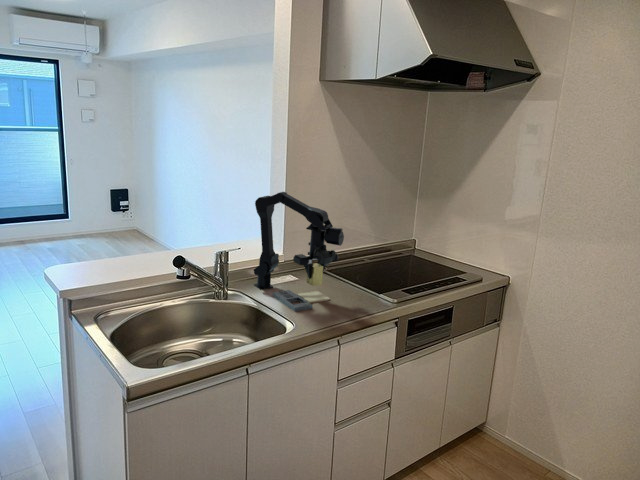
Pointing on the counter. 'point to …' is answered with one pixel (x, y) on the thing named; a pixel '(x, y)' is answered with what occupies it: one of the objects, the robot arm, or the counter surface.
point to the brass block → (316, 275)
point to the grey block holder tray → (292, 300)
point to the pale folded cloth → (313, 296)
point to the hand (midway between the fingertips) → (314, 277)
